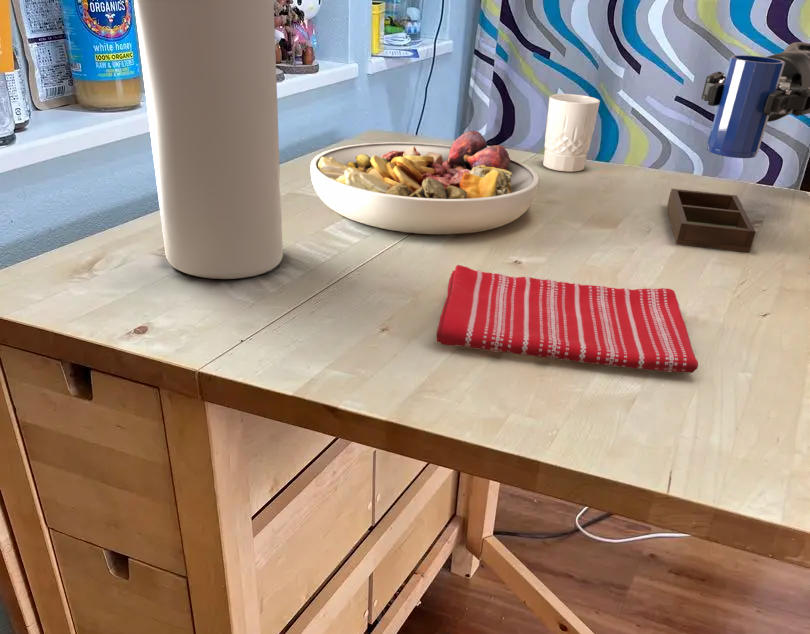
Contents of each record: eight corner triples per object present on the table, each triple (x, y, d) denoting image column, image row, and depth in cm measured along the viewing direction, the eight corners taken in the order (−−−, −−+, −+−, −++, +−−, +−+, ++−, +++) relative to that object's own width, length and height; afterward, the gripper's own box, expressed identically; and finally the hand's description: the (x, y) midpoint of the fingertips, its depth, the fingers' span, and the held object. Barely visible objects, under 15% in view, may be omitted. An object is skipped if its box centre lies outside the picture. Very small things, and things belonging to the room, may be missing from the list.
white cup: (553, 158, 136) (563, 92, 130) (595, 167, 133) (608, 99, 127) (530, 166, 131) (540, 97, 125) (574, 175, 128) (586, 105, 122)
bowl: (467, 260, 93) (474, 188, 88) (264, 208, 105) (261, 142, 100) (567, 205, 114) (578, 145, 109) (389, 167, 125) (391, 111, 120)
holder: (731, 214, 115) (737, 195, 113) (749, 252, 101) (756, 231, 100) (666, 207, 116) (671, 188, 114) (676, 244, 102) (681, 223, 101)
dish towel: (451, 285, 87) (454, 260, 85) (675, 310, 84) (682, 285, 83) (429, 350, 73) (431, 322, 71) (695, 382, 71) (703, 354, 69)
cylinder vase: (158, 246, 91) (123, -23, 76) (267, 239, 95) (254, -18, 80) (177, 286, 82) (142, -11, 67) (296, 276, 86) (288, -6, 71)
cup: (752, 149, 102) (779, 58, 95) (760, 160, 97) (789, 65, 91) (704, 144, 102) (728, 53, 96) (709, 155, 98) (734, 60, 91)
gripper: (735, 45, 106) (690, 54, 95) (849, 60, 100) (815, 72, 89) (718, 108, 111) (673, 124, 100) (826, 126, 105) (791, 146, 94)
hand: (740, 100), depth 94 cm, fingers closed on cup, 6 cm apart
